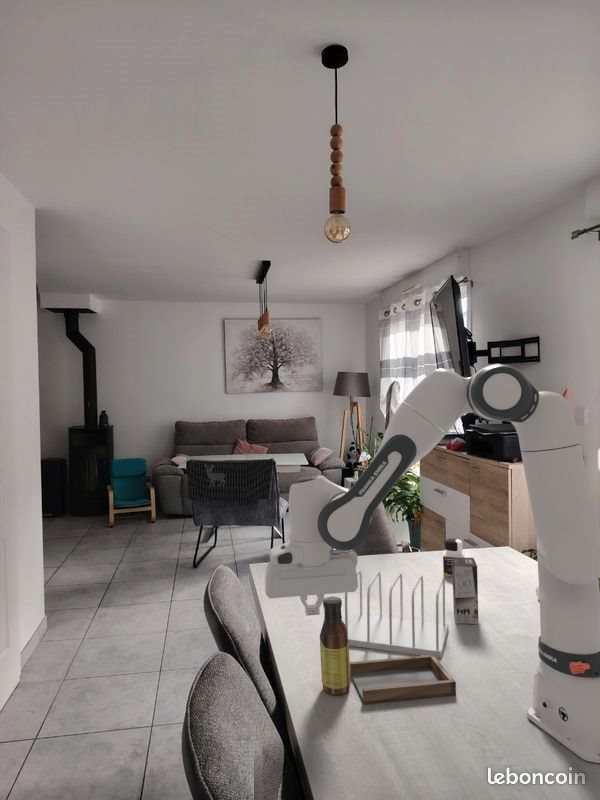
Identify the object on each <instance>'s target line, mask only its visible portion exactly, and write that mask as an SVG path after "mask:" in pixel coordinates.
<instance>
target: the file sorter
mask: <svg viewBox="0 0 600 800" xmlns="http://www.w3.org/2000/svg"><path fill="white" fill-rule="evenodd" d="M356 572H357V576H359V613H357V615H356V616H355V618H354V619H353V621H352V623H351V624H350V626H348V625H349V623H348V618H349V617H348V612H349V611H348V592H345V593H344V620H345V621H344V624H345V626H346V628H347V631H348V641H349V647H359V648H365V649H372V650H379V651H387V652H394V653H401V654H407V653H408V654H409V655H415V654H416V655H415V656H422V655H434V656H435V657H436V658H437V659H438V658H440V659H441V658H443V653H444V649H445V645H446V640H447V636H448V631H449V623H446V580H445V576H444V575H442V576H441V577H440V581H439V584H438V587H437V589H436V595H435V621H430V620H428V621H427V620H425V619H424V618H425V617H424V614H425V613H424V611H425V609H424V575H419V577H418V578H417V580H416V582H415V584H414V585H413V587H412V592H411V618H404V617H403V614H404V611H403V609H404V607H403V605H404V604H403V603H404V602H403V597H404V596H403V593H404V592H403V574H402V572H400V573H398V574H397V576H396V577H395V578H394V580H393V582H392V584H391V585H390V587H389V595H388V601H389V603H388V604H389V605H388V607H389V608H388V613H389V615H388V616H387V615H383V601H382V599H383V598H382V576H381V571H379V570H378V571H377V572H376V573H375V574H374V576H373V577H372V578H371V580H370V582H369V583H368V586H367V590H366V591H367V593H366V608H367V609H366V613H363V576H362V575H363V574H362V571H361V570H356ZM377 577H378V590H379V591H378V595H379V614H378V615H377V614H370V613H371V612H370V611H371V610H370V608H371V607H370V602H371V600H370V599H371V598H370V596H371V587H372V585H373V583H374V582H375V580H376V579H377ZM398 580H399V582H400V583H399V585H400V586H399V587H400V591H399V593H400V596H399V597H400V598H399V601H400V602H399V603H400V617H397V616H394V617H393V616H392V615H393V610H392V607H393V606H392V605H393V604H392V602H393V601H392V599H393V597H392V596H393V590H394V589H393V588H395V587H394V586H395V585H396V584H397V581H398ZM419 583H421V584H420V595H421V596H420V600H421V604H420V606H421V607H420V609H421V614H420V615H421V619H420V620H419V619H415V593H416V589H417V587H418V585H419ZM441 587H442V622H439V603H440V602H439V598H440V597H439V596H440V591H441Z"/></svg>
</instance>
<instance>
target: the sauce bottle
mask: <svg viewBox="0 0 600 800" xmlns="http://www.w3.org/2000/svg"><path fill="white" fill-rule="evenodd" d="M342 604H343V601H342V598H341V597H339V596H333V595H332V596H327V597H324V600H323V602H322V605H323V608H324V609H323V610H324V619H323V623H322V627H321V630H320V634H319V644H320V645H319V646H320V647H319V649H320V666H321V667H320V668H321V671H320V672H321V682H322V688H323V691H324V692H325V693H327V694H331V695H336V696H341V695H343V694H346V693H348V692H349V691H350V689H351V675H350V662H351V661H350V646H349V641H348V631H347V628H346V626H345V621H343V619H342V618H343V616H342Z"/></svg>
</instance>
